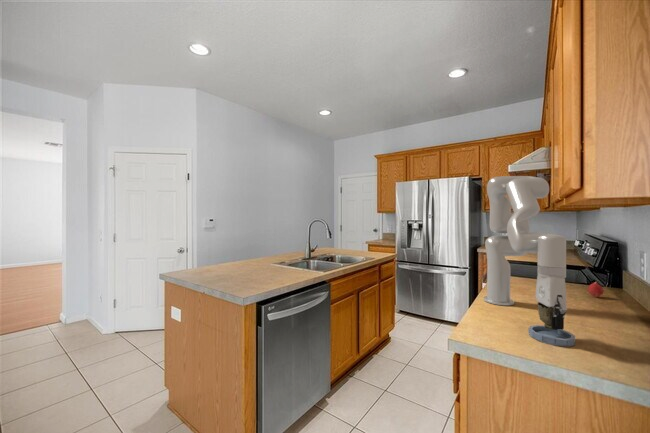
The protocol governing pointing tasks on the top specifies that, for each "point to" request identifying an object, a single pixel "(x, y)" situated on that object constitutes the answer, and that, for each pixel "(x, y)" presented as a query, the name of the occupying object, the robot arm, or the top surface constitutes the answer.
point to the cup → (546, 315)
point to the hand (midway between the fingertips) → (551, 324)
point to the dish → (552, 336)
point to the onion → (595, 289)
